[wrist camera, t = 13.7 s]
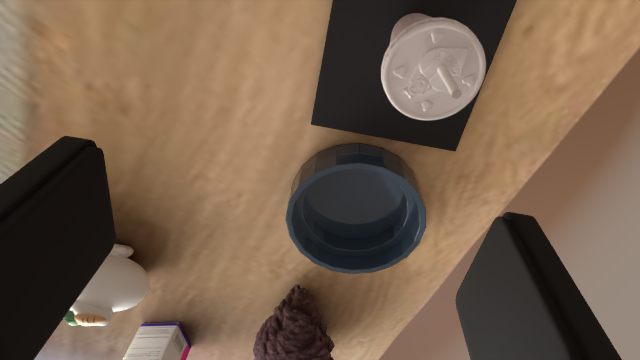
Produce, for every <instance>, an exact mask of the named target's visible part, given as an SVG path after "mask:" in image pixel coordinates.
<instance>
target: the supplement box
mask: <svg viewBox="0 0 640 360" xmlns="http://www.w3.org/2000/svg"><path fill="white" fill-rule="evenodd" d="M190 348H191V345H190V343H189V341H188V339H187V337H186V335H185V333H184V331H183V329H182V327H181V325H180V323H179V322H168V323H144V324H141V326H140V328H139V330H138V332H137V334H136V335H135V337H134V339H133V341H132V343H131V345H130V347H129V349H128V351H127V353H126V355H125V356H124V358H123V360H186V358H187V356H188V353H189V350H190Z"/></svg>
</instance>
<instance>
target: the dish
mask: <svg viewBox="0 0 640 360" xmlns="http://www.w3.org/2000/svg"><path fill="white" fill-rule="evenodd" d="M286 224H287V228H288V233H289V236H290V238H291V240H292V241H293V243H294V244H295V246H296V247H297V249H298V250H299V251H300V252H301V253H302V254H303V255H305V256H306V257H307V258H308V259H310V260H311V261H312V262H313V263H315V264H318V265H320V266H322V267H325V268H327V269H329V270H332V271H337V272H343V273H348V274H359V273H373V272H376V271H379V270H383V269H386V268H389V267H391V266H393V265H395V264H396V263H398V262H400V261H401V260H403V259H405V258H406V257H408V255H409V254H410V253H411V252H412V251H413V250H414V249H415V248H416V247H417V246H418V244H419V243H420V240H421V238H422V236H423V233H424V231H425V228H426V208H425V204H424V201H423V197H422V193H421V189H420V186H419V184H418V181H417V179H416V177H415V174H414V172H413V170H412V169H411V168H410V167H409V166H408V165H407V164H406V163H405V162H404V161H403V160H402V159H401V158H400V157H399V156H397V155H395V154H393V153H391V152H389V151H387V150H385V149H383V148H382V147H377V146H371V145H366V144H361V143H360V144H359V143H357V144H346V145H338V146H337V145H336V146H334V147H332V148H329V149H327V150H324V151H322V152H319V153H318V154H316V155H315V156H314V157H312V158H311V159H310V160H309V161H307V162H306V163H305V164H304V165H303V166H302V167H301V169H300V170H299V172H298V174H297V175H296V177H295V179H294V180H293V184H292V188H291V193H290V197H289V202H288V207H287V213H286Z"/></svg>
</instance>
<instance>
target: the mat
mask: <svg viewBox="0 0 640 360" xmlns="http://www.w3.org/2000/svg"><path fill="white" fill-rule="evenodd" d="M516 1H517V0H333V3H332V9H331V14H330V20H329V26H328V31H327V37H326V43H325V48H324V54H323V59H322V65H321V71H320V76H319V82H318V87H317V93H316V99H315V104H314V110H313V115H312V121H311V124H312V125H317V126H322V127H328V128H333V129H338V130H344V131H349V132H354V133H360V134H365V135H370V136H376V137H381V138H386V139H392V140H397V141H402V142H408V143H413V144H418V145H424V146H429V147H434V148H440V149H445V150H450V151H456V148H457V146H458V143H459V141H460V139H461V136H462V134H463V131H464V129H465V126H466V124H467V121H468V119H469V116H470V114H471V111H472V109H473V107H474V104H475V102H476V99H477V97H478V94H479V92H480V89H481V87H482V85H481V87H480V89H479V91H478V93H477V94H476V96H475V97H474V98H473V99H472V100H471V101H470V103H469V104H467V105H466V106H465V107H464V108H463V109H461V110H460V111H458V112H457V113H455V114H453V115H451V116H448V117H446V118H442V119H438V120H418V119H414V118H411V117H408V116H406V115H404V114H403V113H401V112H400V111H398V110H397V109H396V108H395V107H394V106H393V105H392V103H391V102H390V101H389V99H388V97H387V95H386V93H385V91H384V88H383V84H382V81H381V65H382V62H383V58H384V54H385V52H386V50H387V49H388V47H389V45H390V39H391V34H392V30H393V28H394V26H395V24H396V23H397V22H398V21H399V20H400V19H401V18H402V17H404V16H406V15H408V14H412V13H420V14H424V15H427V16H429V17H432V18H440V17H443V18H447V19H452V20H456V21H458V22H460V23H461V24H463V25H465V26H467V27H468V28H469V29H470V30H471V31H472V32H473V33H474V35H475V36H476V37H477V39H478V40H479V42H480V43H481V45H482V47H483V50H484V53H485V58H486V71H485V76H484V80H485V77H486V75H487V72H488V70H489V67H490V65H491V62H492V60H493V57H494V55H495V52H496V50H497V48H498V45H499V43H500V40H501V38H502V35H503V33H504V30H505V28H506V25H507V23H508V21H509V18H510V16H511V13H512V11H513V8H514V6H515V3H516ZM484 80H483V82H484ZM482 84H483V83H482Z"/></svg>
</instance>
